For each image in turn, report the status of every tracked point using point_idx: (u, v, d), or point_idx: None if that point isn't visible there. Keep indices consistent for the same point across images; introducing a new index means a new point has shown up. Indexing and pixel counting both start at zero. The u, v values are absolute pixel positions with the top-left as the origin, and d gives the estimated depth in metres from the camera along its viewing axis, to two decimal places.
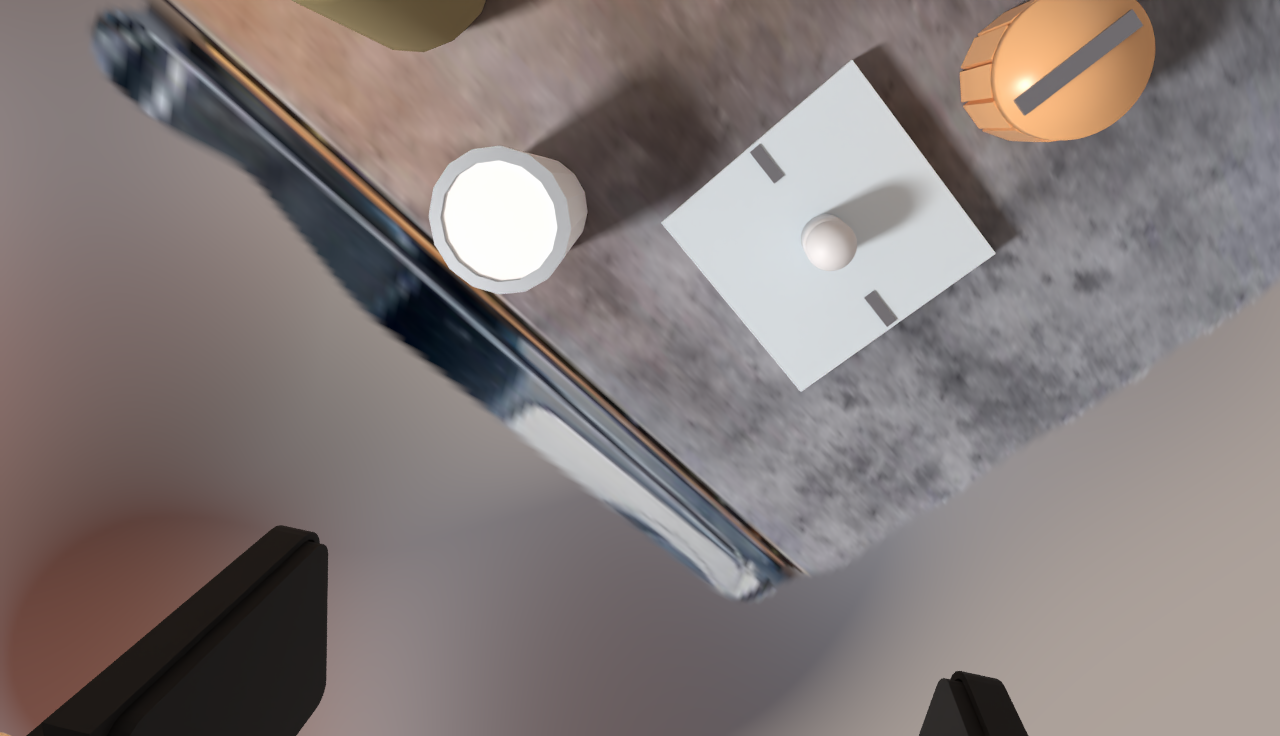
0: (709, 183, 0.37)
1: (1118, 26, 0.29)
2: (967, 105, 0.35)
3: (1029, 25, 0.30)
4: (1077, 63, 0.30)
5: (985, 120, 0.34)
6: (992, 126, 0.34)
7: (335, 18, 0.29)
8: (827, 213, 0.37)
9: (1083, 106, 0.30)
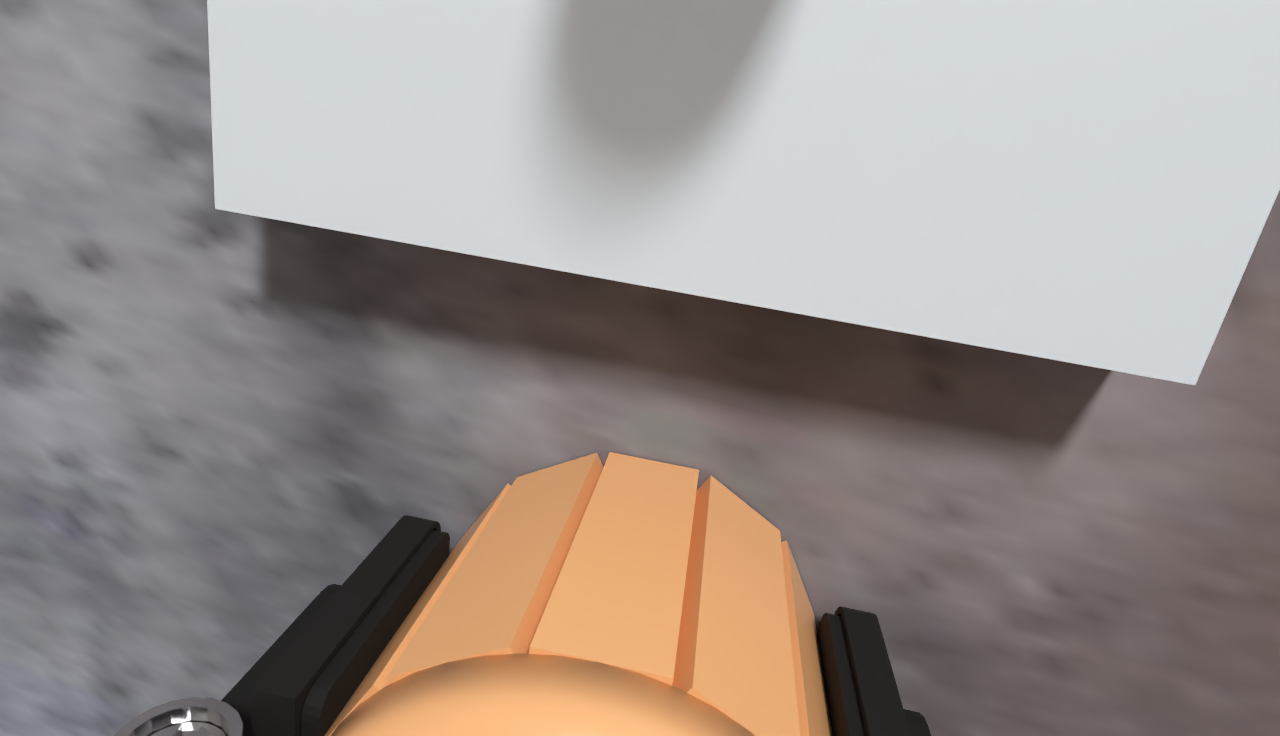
0: None
1: None
2: (694, 491, 0.10)
3: None
4: None
5: (620, 517, 0.09)
6: (587, 527, 0.09)
7: None
8: None
9: None
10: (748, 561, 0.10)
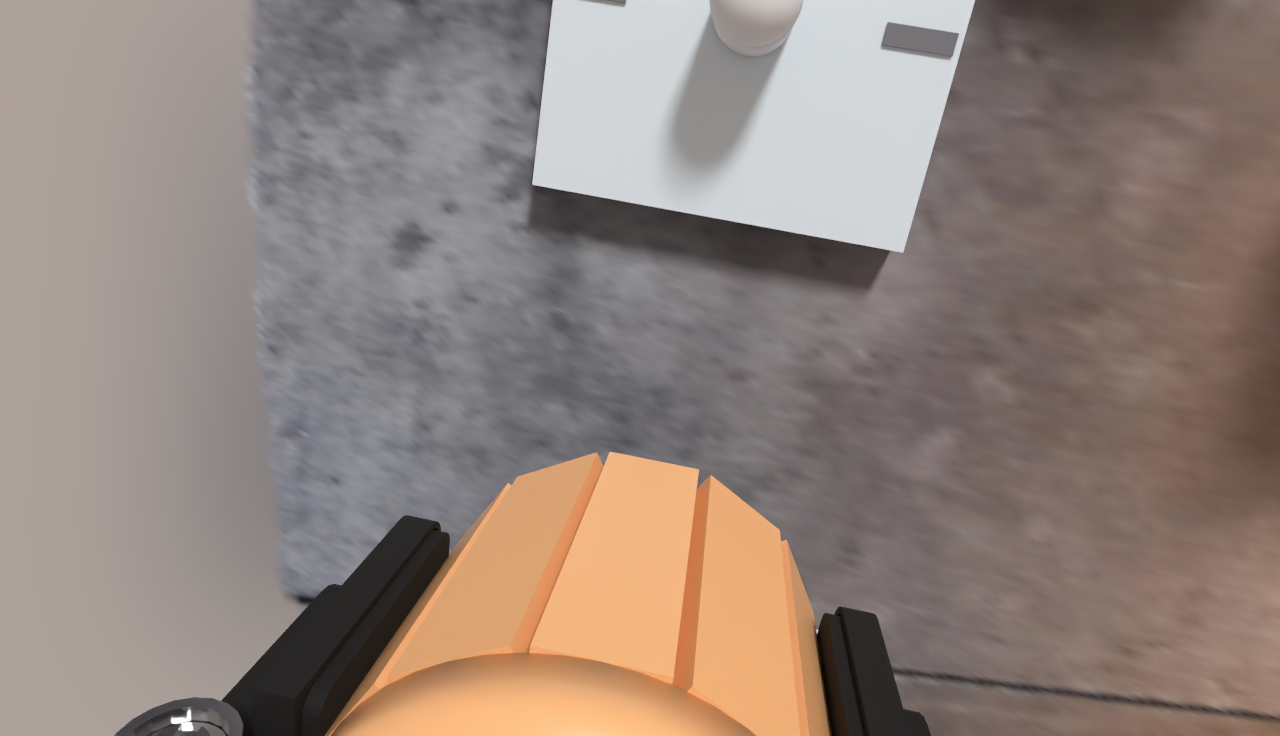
0: None
1: None
2: (694, 490, 0.10)
3: None
4: None
5: (620, 517, 0.09)
6: (587, 526, 0.09)
7: None
8: (777, 48, 0.21)
9: None
10: (748, 560, 0.10)
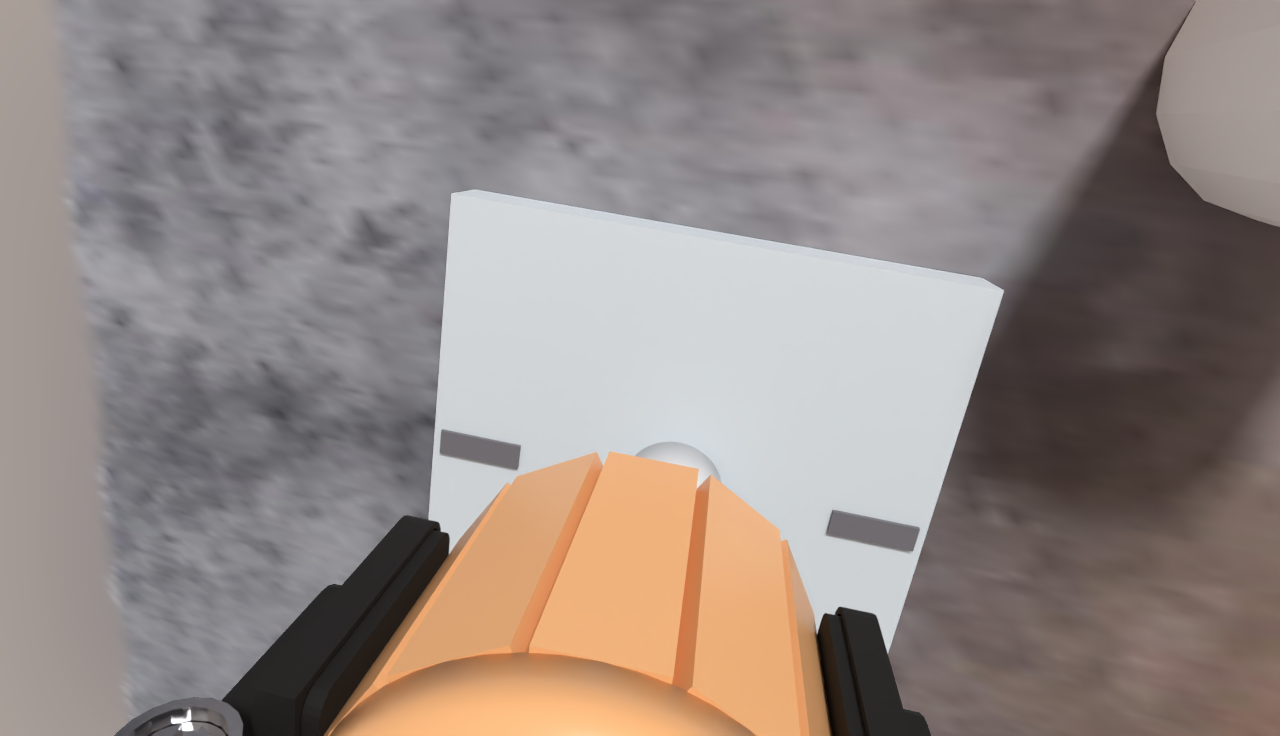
0: (955, 430, 0.16)
1: None
2: (694, 490, 0.10)
3: None
4: None
5: (620, 516, 0.09)
6: (587, 525, 0.09)
7: None
8: None
9: None
10: (748, 560, 0.10)
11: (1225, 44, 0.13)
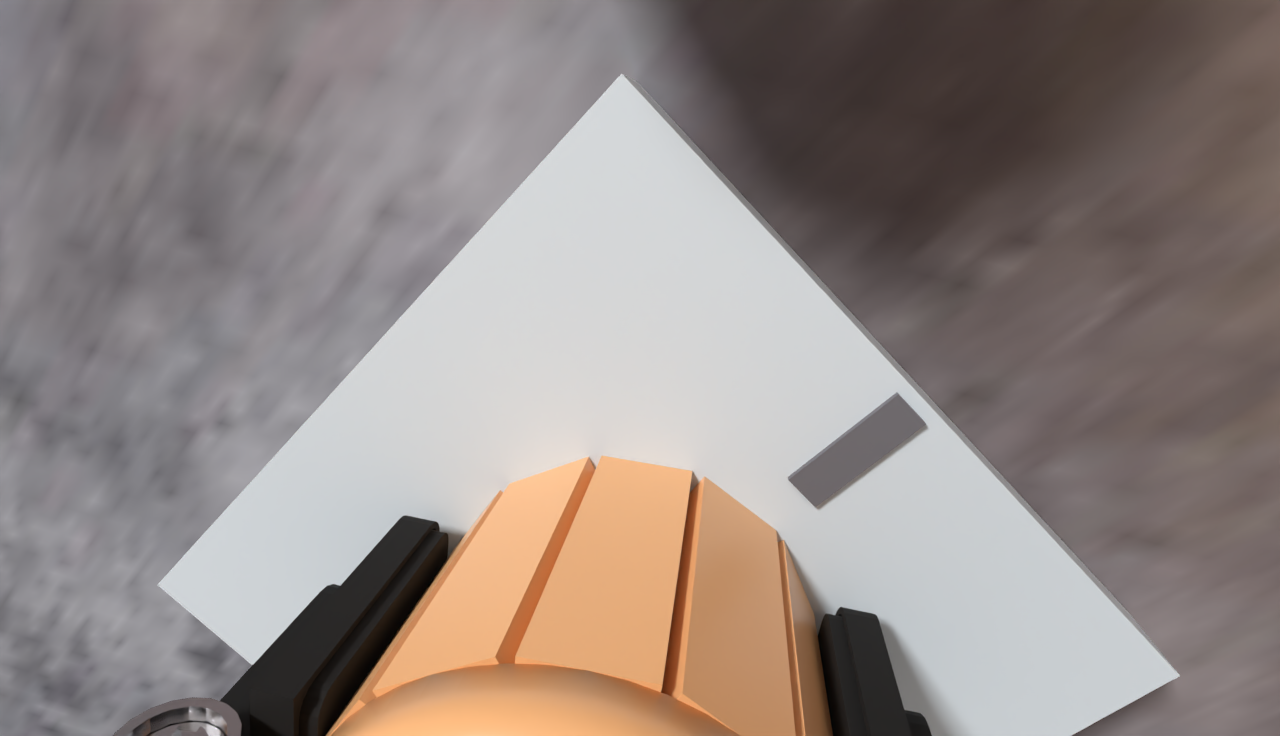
0: (783, 256, 0.10)
1: None
2: (687, 492, 0.10)
3: None
4: None
5: (611, 521, 0.09)
6: (577, 532, 0.09)
7: None
8: None
9: None
10: (743, 562, 0.09)
11: None
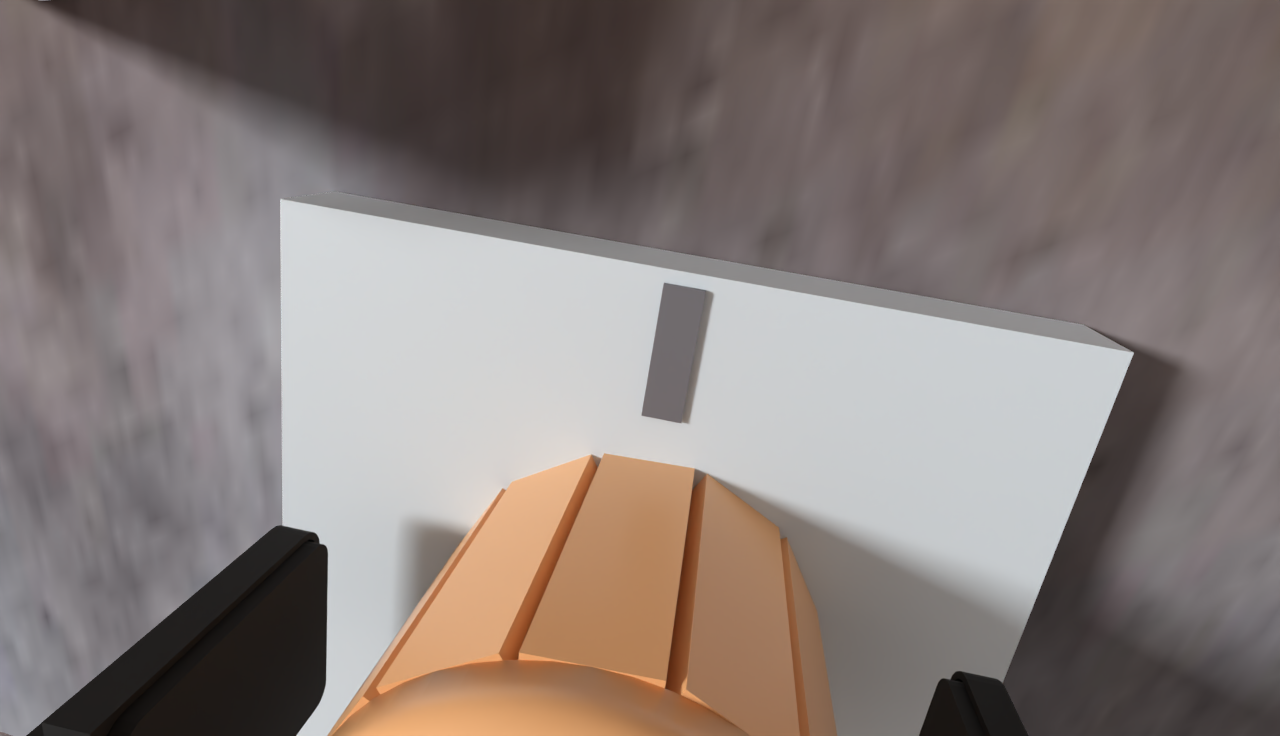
0: (493, 242, 0.10)
1: None
2: (690, 490, 0.10)
3: None
4: None
5: (613, 519, 0.09)
6: (580, 529, 0.09)
7: None
8: None
9: None
10: (746, 559, 0.09)
11: None
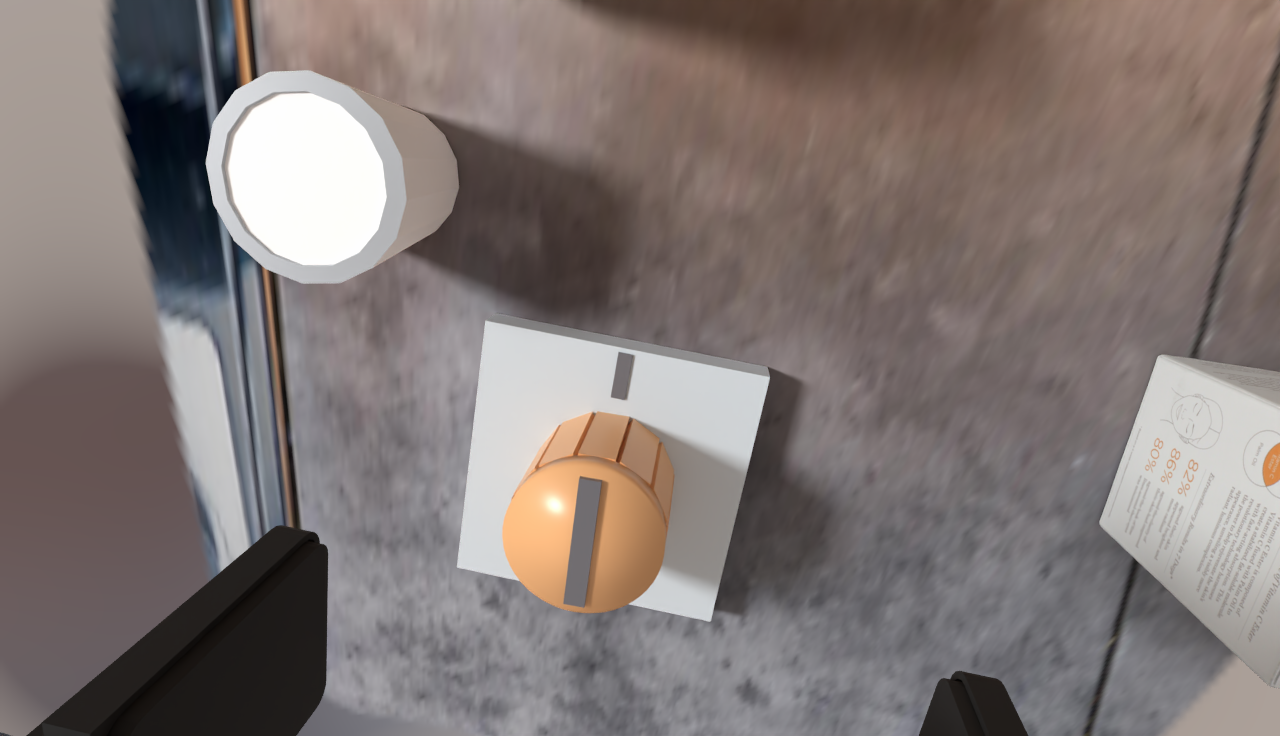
0: (560, 337, 0.30)
1: (580, 589, 0.27)
2: (627, 422, 0.30)
3: (651, 540, 0.26)
4: (582, 545, 0.26)
5: (601, 428, 0.29)
6: (590, 430, 0.29)
7: None
8: None
9: (540, 519, 0.26)
10: (644, 443, 0.29)
11: None
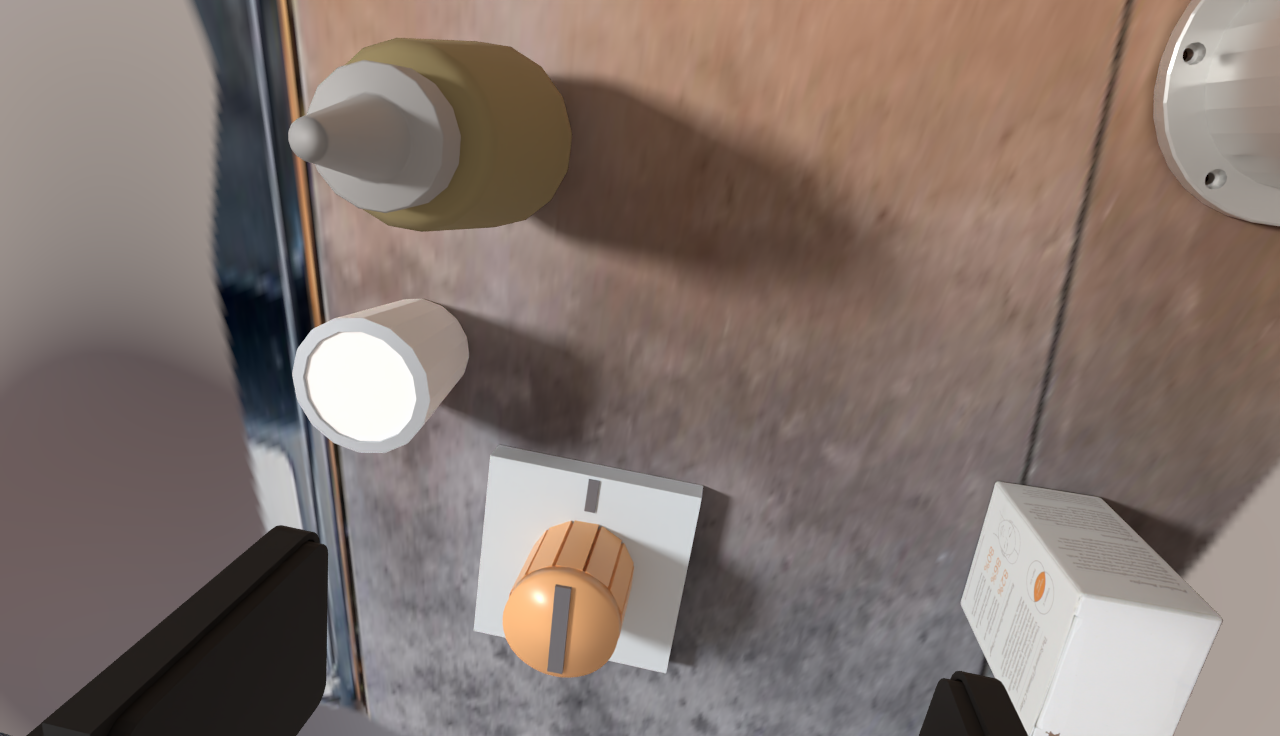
0: (545, 467, 0.40)
1: (559, 660, 0.37)
2: (596, 530, 0.40)
3: (608, 628, 0.36)
4: (558, 631, 0.36)
5: (575, 538, 0.39)
6: (567, 541, 0.39)
7: None
8: None
9: (529, 612, 0.37)
10: (607, 548, 0.39)
11: None
